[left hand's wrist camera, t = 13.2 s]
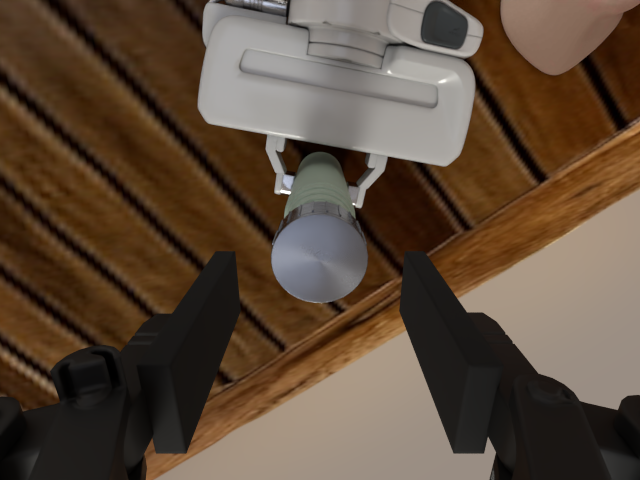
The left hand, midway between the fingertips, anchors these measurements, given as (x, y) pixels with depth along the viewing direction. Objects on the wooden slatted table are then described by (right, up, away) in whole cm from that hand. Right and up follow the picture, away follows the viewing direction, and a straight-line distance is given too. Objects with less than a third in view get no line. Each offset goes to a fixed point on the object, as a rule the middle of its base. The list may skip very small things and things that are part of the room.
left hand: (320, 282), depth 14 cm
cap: (0, +1, +2) cm, 2 cm away
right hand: (0, +5, +16) cm, 17 cm away
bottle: (0, +8, +22) cm, 23 cm away
